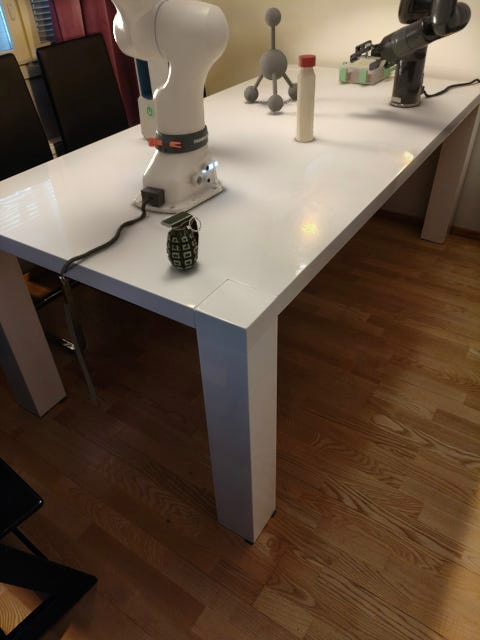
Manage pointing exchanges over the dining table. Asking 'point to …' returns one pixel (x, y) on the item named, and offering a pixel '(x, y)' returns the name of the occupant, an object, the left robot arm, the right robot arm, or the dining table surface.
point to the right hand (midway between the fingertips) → (360, 63)
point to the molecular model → (272, 67)
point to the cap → (307, 61)
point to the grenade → (182, 240)
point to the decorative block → (363, 72)
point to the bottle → (305, 104)
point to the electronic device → (149, 92)
